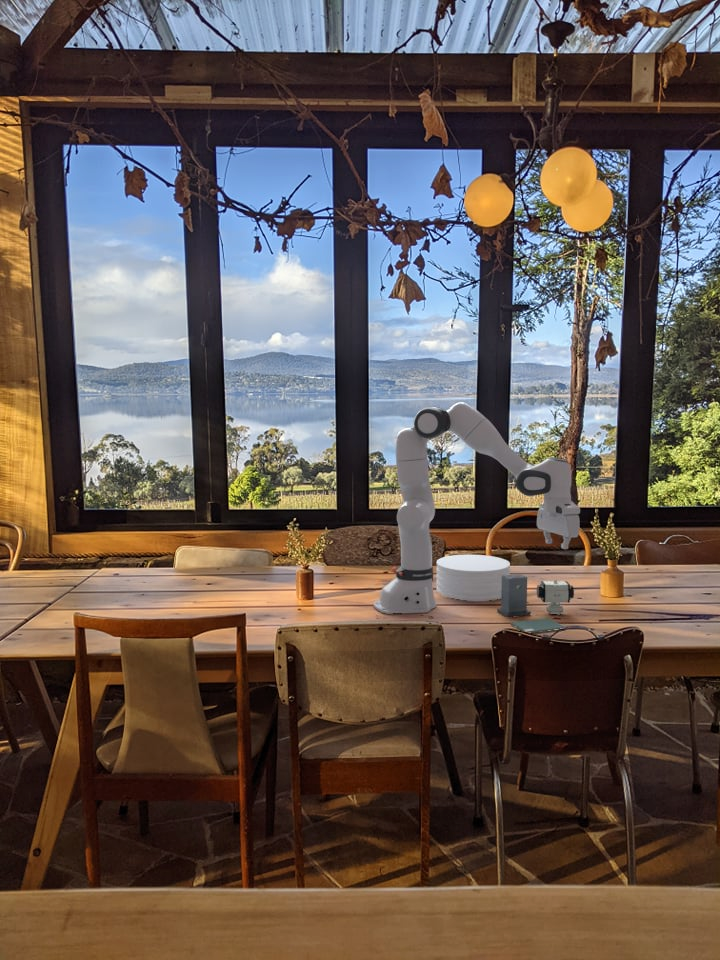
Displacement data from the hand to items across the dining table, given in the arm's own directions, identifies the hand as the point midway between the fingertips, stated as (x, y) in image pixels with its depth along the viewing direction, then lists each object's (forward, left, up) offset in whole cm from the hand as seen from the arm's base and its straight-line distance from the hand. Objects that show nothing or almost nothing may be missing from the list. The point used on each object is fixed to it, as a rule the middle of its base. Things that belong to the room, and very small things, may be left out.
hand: (556, 546), depth 231 cm
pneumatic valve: (0, 0, -24) cm, 24 cm away
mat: (-13, -10, -24) cm, 29 cm away
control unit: (-13, +5, -24) cm, 28 cm away
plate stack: (-13, +36, -24) cm, 45 cm away
